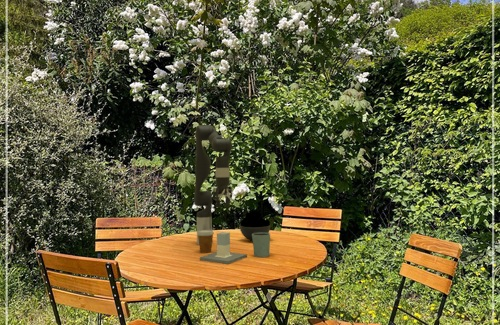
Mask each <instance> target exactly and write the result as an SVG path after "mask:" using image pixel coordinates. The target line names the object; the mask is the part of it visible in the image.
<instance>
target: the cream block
mask: <svg viewBox="0 0 500 325" xmlns="http://www.w3.org/2000/svg"><path fill="white" fill-rule="evenodd" d="M216 252H217V256H220V257H227V256H229V255H230V252H231V243H230V244H229V245H225V246H223V245H217V244H216Z"/></svg>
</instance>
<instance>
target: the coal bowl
mask: <svg viewBox="0 0 500 325" xmlns="http://www.w3.org/2000/svg"><path fill="white" fill-rule="evenodd" d="M261 215H262V213H261V212H259V211H256V210H254V211H253V210H252V211H249V212H246V213H245V216H244V217H243V219H242V220H240V225H239V230H240V233H241V234H242V236H243V237H244V238H245V239H247V240H249V241H252V242H253V239H252V234H253V233H270V230H271V222H270V220H269V219H265V218H260V217H261Z"/></svg>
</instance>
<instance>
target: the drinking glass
mask: <svg viewBox="0 0 500 325" xmlns="http://www.w3.org/2000/svg"><path fill="white" fill-rule="evenodd" d="M252 239H253V241H252V247H253V249H252V251H253V256H254V257H255V258H269V257H270V254H271V252H270V249H271V248H270V247H271V244H270V243H271V242H270V241H271V233H270V232H269V233H253V234H252Z"/></svg>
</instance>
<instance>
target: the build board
mask: <svg viewBox="0 0 500 325" xmlns="http://www.w3.org/2000/svg"><path fill="white" fill-rule="evenodd" d="M247 255H248V254H246V253H238V252H231V251H230V255H229V256H227V257H220V256H217V251H214V252H213V253H212V252H211V253H209V254H206V255H203V256H200V257H199V261H204V262H209V263H216V264H225V265H229V264H232V263H235V262H238V261H241V260H243V259H246V258H248V256H247Z"/></svg>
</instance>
